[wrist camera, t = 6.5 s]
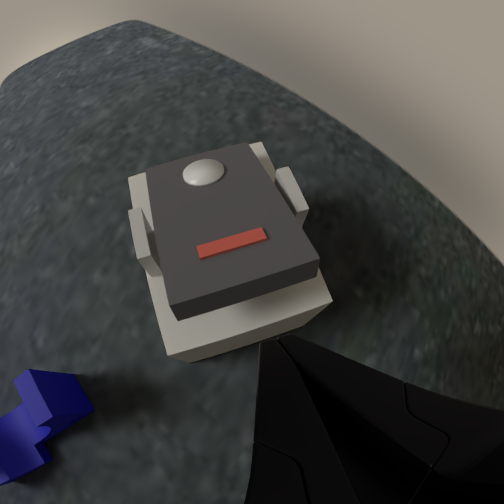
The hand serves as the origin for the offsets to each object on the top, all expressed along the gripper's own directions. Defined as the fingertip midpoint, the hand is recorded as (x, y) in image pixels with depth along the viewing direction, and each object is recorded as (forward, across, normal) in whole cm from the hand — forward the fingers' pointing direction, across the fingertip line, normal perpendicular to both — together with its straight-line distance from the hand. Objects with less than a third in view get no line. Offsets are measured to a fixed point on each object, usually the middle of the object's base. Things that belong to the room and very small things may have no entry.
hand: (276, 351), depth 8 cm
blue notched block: (+9, +16, +12) cm, 22 cm away
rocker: (+8, 0, -2) cm, 8 cm away
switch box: (+14, -1, +4) cm, 15 cm away
